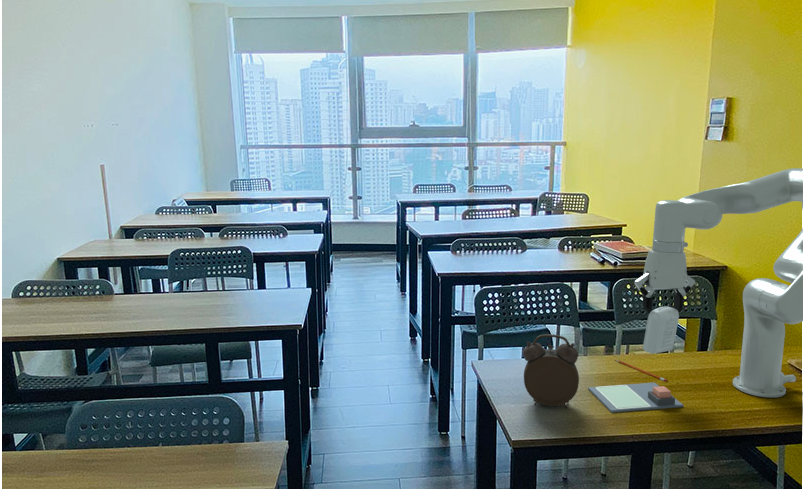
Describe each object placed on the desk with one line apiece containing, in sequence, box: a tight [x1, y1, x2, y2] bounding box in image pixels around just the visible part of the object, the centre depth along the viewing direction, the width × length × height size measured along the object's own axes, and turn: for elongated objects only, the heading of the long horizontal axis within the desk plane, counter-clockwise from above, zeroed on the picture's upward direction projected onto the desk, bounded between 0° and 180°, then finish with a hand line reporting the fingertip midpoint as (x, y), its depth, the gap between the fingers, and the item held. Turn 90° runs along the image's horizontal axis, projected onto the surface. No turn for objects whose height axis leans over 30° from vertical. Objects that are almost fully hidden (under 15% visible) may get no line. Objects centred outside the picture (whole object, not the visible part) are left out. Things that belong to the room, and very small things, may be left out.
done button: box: [653, 385, 672, 398], centre depth 148 cm, size 3×3×2 cm
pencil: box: [614, 359, 668, 382], centre depth 169 cm, size 1×19×1 cm, turn 28°
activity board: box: [587, 382, 684, 413], centre depth 151 cm, size 20×14×2 cm
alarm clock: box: [522, 333, 580, 409], centre depth 148 cm, size 14×7×20 cm, turn 74°
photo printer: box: [642, 306, 680, 354], centre depth 150 cm, size 10×4×12 cm, turn 124°
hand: (662, 309), depth 149 cm, fingers closed on photo printer, 8 cm apart
